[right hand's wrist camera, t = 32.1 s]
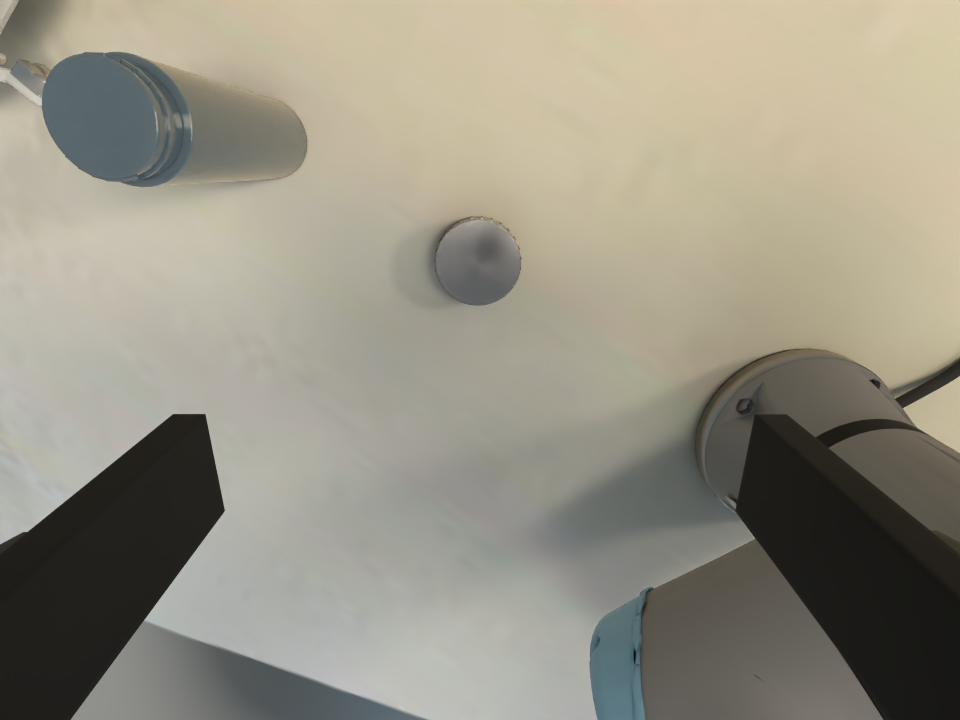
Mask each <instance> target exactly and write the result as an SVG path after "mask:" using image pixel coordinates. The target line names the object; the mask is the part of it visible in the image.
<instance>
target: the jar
mask: <svg viewBox="0 0 960 720" xmlns="http://www.w3.org/2000/svg"><path fill="white" fill-rule="evenodd" d="M42 110H43V116H44V120H45V123H46V126H47V128H48V131H49V133H50V135H51V137H52V138H53V140H54V142H55V143H56V145H57V146H58V148H59V149H60V150H61V151H62V152H63V154H64V155H65V157H66V158H68V159H69V160H70V161H71V162H72V163H74V164H75V165H76V166H77V167H78V168H79V169H80V170H82V171H84V172H86V173H88V174H90V175H91V176H92V177H95V178H99V179H102V180H106V181H115V182H122V183H125V184H127V185H132V186H138V187H154V186H170V185H186V184H201V183H217V182H233V181H249V180H265V179H279V178H284V177H287V176H289V175H291V174H292V173H294V172H295V171H296V170H297V169H298V168H299V167H300V166H301V164H302V162H303V160H304V158H305V155H306V151H307V138H306V133H305V129H304V127H303V124H302V123H301V121H300V119H299V118H298V116H297V115H296V114H295V113H294V111H292V110H291V109H290V108H289V107H288V106H286V105H285V104H283V103H281V102H279V101H277V100H274V99H271V98H267V97H264V96H261V95H258V94H255V93H252V92H249V91H246V90H243V89H239V88H236V87H233V86H230V85H227V84H224V83H221V82H218V81H215V80H211V79H208V78H205V77H202V76H199V75H196V74H193V73H190V72H187V71H183V70H180V69H177V68H174V67H171V66H168V65H165V64H162V63H159V62H155V61H152V60H149V59H146V58H143V57H140V56H137V55H133V54H129V53H123V52H109V53H92V52H85V53H82V54H78V55H73V56H71V57H68V58H66V59H64V60H62V61H61V62H59V63H58V64H57V65H56V66H55V67H54V68H53V69H52V70H51V72H50V73H49V75H48V77H47V78H46V81H45V84H44V87H43V92H42Z"/></svg>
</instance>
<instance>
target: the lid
mask: <svg viewBox="0 0 960 720" xmlns="http://www.w3.org/2000/svg"><path fill="white" fill-rule="evenodd" d="M515 240H516V239H515V237H514V236H512V235H511V233H510V231H509V229H506V228H505V227H504V226H503V225H502V224H501V223H498V222H496V221H494V220H492V218H491V219H488V218H483V216H481V217H473V216H472V217H471V218H468V219H465V220H463V219H462V220H461V221H460V222H458V223H456V224H453V225H452V227H451V228H450V229H449V230H448V231H446V232H445V235H444V237H443V238H442V239H441V240H440V241H439V243H440V244H439V246H438V248H437V250H436V252H437V253H436V259H435V266H436V272H437V276H438V279H439V281H440V283H441V285H442V286H443V288H444V289H445V290H446V291H447V292H448V293H449V294H450V295H451V296H452V297H453V298H455V299H457V300H458V301H460V302H463V303H466V304H469V305H487V304H491V303H493V302H496V301H498V300H500V299H501V298H503V297H504V296H505V295H507V294H508V293H509V292H510V290H511V289H512V288H513V286H514V285H515V283H516V281H517V279H518V276H519V273H520V270H521V256H520V252H519V250H520V248H519V246H518V245H517V244H516V242H515Z"/></svg>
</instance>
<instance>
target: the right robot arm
mask: <svg viewBox="0 0 960 720" xmlns="http://www.w3.org/2000/svg"><path fill="white" fill-rule="evenodd" d="M959 376H960V362H958V363H957V364H955V365H954V366H953V367H951V368H949V369H948V370H946V371H945V372H943V373H941V374H940V375H938V376H936V377H935V378H933V379H931V380H929V381H927V382H926V383H924V384H922V385H920V386H918V387H916V388H915V389H913V390H911V391H909V392H907V393H905V394H903V395H902V396H900V397H898V398H896V399H894V397H893V395H892V394H891V392H890V391H889V389H888V388H887V386H886V385H885V384H884V383H883V381H882V380H881V379H880V378H879V377H878V376H876V375H875V374H874V373H873V372H871V371H870V370H868V369H867V368H865V367H863V366H861V365H859V364H857V363H856V362H854V361H852V360H850V359H848V358H846V357H844V356H841V355H839V354H836V353H832V352H829V351H823V350H815V349H799V350H790V351H785V352H781V353H777V354H774V355H770V356H768V357H765V358H763V359H760V360H758V361H756V362H754V363H752V364H750V365H749V366H747V367H745V368H744V369H742V370H741V371H739V372H738V373H737V374H735V375H734V376H733V377H732V378H730V379H729V380H728V381H727V382H726V383H725V384H724V385H723V386H722V387H721V388H720V389H719V390H718V391H717V393H716V394H715V395H714V397H713V398H712V399H711V401H710V402H709V404H708V406H707V407H706V409H705V411H704V413H703V415H702V417H701V420H700V423H699V426H698V430H697V435H696V446H695V450H696V458H697V463H698V466H699V469H700V472H701V474H702V476H703V478H704V479H705V481H706V482H707V484H708V485H709V487H710V488H711V490H712V491H713V492H714V494H715V495H716V496H717V498H718V499H719V500H720V501H721V502H722V503H723V504H724V505H725V506H726V507H727V508H729V509H730V510H731V511H733V512H735V513H736V514H738V515H739V517H740V518H741V519H742V521H743V522H744V523H745V525H746V526H747V528H748V529H749V530H750V532H751V533H752V534H753V536H754V537H755V538H756V539H755V540H753V541H751V542H749V543H747V544H745V545H743V546H741V547H739V548H737V549H735V550H733V551H731V552H729V553H727V554H725V555H723V556H721V557H719V558H717V559H715V560H713V561H711V562H709V563H707V564H705V565H703V566H701V567H698V568H696V569H694V570H692V571H690V572H688V573H686V574H684V575H682V576H680V577H678V578H676V579H674V580H671V581H669V582H667V583H665V584H663V585H661V586H659V587H657V588H655V589H654V588H651V587H649V588H647V589H644V590H643V591H642V592H641V593H640V595H639V597H637V598H635V599H633V600H632V601H630V602H628V603H626V604H625V605H623V606H621V607H619V608H618V609H616V610H614V611H612V612H611V613H609V614H607V615H606V616H604V617H603V618H602V619H601V620H600V622H599V623H598V625H597V626H596V628H595V631H594V633H593V636H592V640H591V646H590V677H591V686H592V693H593V699H594V705H595V710H596V715H597V719H598V720H960V453H958V452H957V451H955V450H953V449H952V448H950V447H948V446H946V445H945V444H943V443H941V442H940V441H938V440H936V439H935V438H933V437H931V436H929V435H928V434H926V433H924V432H923V431H921V430H919V429H918V428H916V426H915V425H914V423H913V422H912V421H911V419H910V418H909V417H908V415H907V414H906V413H905V411H904V410H903V408H904V407H906V406H908V405H910V404H911V403H913V402H915V401H917V400H919V399H921V398H922V397H924V396H926V395H928V394H930V393H932V392H933V391H935V390H937V389H939V388H941V387H942V386H944V385H946V384H948V383H949V382H951V381H953V380H954V379H956V378H957V377H959ZM224 511H225V510H224V505H223V500H222V495H221V490H220V485H219V480H218V475H217V470H216V465H215V460H214V455H213V450H212V445H211V440H210V435H209V430H208V425H207V420H206V415H205V414H173V415H172V416H170V417H169V418H168V419H167V420H165V421H164V422H163V423H162V424H161V425H159V426H158V427H157V428H156V429H154V430H153V431H152V432H151V433H149V434H148V435H147V436H146V437H144V438H143V439H142V440H141V441H140V442H138V443H137V444H136V445H135V446H133V447H132V448H131V449H130V450H128V451H127V452H126V453H125V454H123V455H122V456H121V457H120V458H119V459H117V460H116V461H115V462H114V463H112V464H111V465H110V466H109V467H107V468H106V469H105V470H104V471H102V472H101V473H100V474H99V475H98V476H96V477H95V478H94V479H93V480H91V481H90V482H89V483H88V484H86V485H85V486H84V487H83V488H81V489H80V490H79V491H78V492H77V493H75V494H74V495H73V496H72V497H70V498H69V499H68V500H67V501H65V502H64V503H63V504H62V505H60V506H59V507H58V508H57V509H56V510H54V511H53V512H52V513H51V514H49V515H48V516H47V517H46V518H44V519H43V520H42V521H41V522H40V523H38V524H37V525H36V526H35V527H33V528H32V529H31V530H30V531H28V532H23V533H21V534H19V535H17V536H15V537H13V538H12V539H10V540H8V541H6V542H4V543H2V544H0V720H71V718H72V717H73V715H74V714H75V713H76V711H77V710H78V709H79V707H80V706H81V705H82V703H83V702H84V701H85V699H86V698H87V696H88V695H89V694H90V692H91V691H92V690H93V688H94V687H95V686H96V684H97V683H98V682H99V680H100V679H101V678H102V676H103V675H104V674H105V672H106V671H107V670H108V668H109V667H110V665H111V664H112V663H113V661H114V660H115V659H116V657H117V656H118V655H119V653H120V652H121V651H122V649H123V648H124V647H125V645H126V644H127V642H128V641H129V640H130V638H131V637H132V636H133V634H134V633H135V632H136V630H137V629H138V628H139V626H140V625H141V624H142V622H143V621H144V619H145V618H146V617H147V615H148V614H149V613H150V611H151V610H152V609H153V607H154V606H155V605H156V603H157V602H158V601H159V599H160V598H161V596H162V595H163V594H164V592H165V591H166V590H167V588H168V587H169V586H170V584H171V583H172V582H173V580H174V579H175V578H176V576H177V575H178V573H179V572H180V571H181V569H182V568H183V567H184V565H185V564H186V563H187V561H188V560H189V559H190V557H191V556H192V555H193V553H194V552H195V551H196V549H197V548H198V546H199V545H200V544H201V542H202V541H203V540H204V538H205V537H206V536H207V534H208V533H209V532H210V530H211V529H212V528H213V526H214V525H215V523H216V522H217V521H218V519H219V518H220V517H221V515H222V514H223V513H224Z"/></svg>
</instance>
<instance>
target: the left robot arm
mask: <svg viewBox="0 0 960 720" xmlns="http://www.w3.org/2000/svg"><path fill="white" fill-rule="evenodd" d="M18 2H19V0H0V34H1V32H2V30H3V29H4V27H5V25H6V23H7V21H8V20H9V18H10V16H11V14H12V12H13V11H14V9H15V7H16V5H17V3H18ZM6 61H7V59H6V56H5V55H3V54H2V53H1V52H0V82H4V83H9V84H10V85H11V86H13V87H14V88H15V89H16V90H17V91H19V92H20V93H21V94H22V95H24V96H25V97H26V98H27V99H28V100H30V101H31V102H33V103H34V104H36V105H38V106H41V107H42V92H43V87H44V84H45V81H46V78H47V77H48V75H49V73H50V72H51V70H50V69H49V68H47V67H46V66H45V65H42V64H38V63H34V64H31V63H30V62H29V61H25V60H21V59H19V60H18V61H17V63H16V64H15V66H14V68H13V69H8V68H4V67H3V66H1V65H4V64H5V62H6Z"/></svg>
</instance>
